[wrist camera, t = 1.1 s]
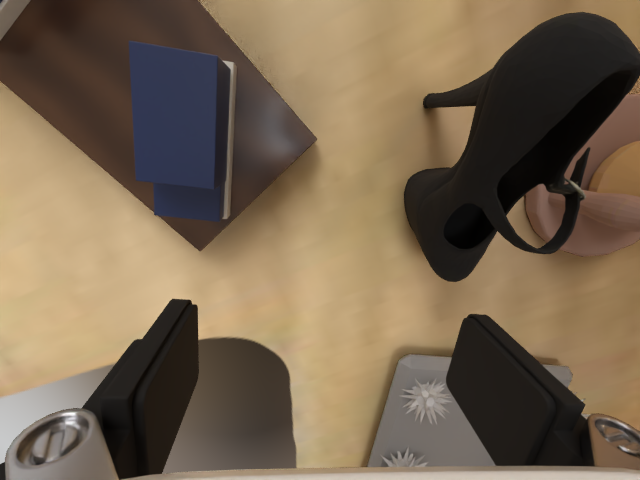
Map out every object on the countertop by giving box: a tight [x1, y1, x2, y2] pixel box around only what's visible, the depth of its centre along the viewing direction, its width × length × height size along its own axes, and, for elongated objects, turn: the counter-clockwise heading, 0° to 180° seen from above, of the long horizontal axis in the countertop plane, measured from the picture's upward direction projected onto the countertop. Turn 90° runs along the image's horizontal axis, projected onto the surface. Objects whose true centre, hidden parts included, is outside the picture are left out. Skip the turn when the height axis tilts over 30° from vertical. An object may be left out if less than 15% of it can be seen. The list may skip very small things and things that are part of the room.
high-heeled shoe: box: [404, 12, 640, 282], centre depth 24 cm, size 8×19×20 cm, turn 8°
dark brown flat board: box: [0, 0, 317, 251], centre depth 26 cm, size 16×30×3 cm, turn 42°
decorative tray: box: [367, 354, 590, 467], centre depth 43 cm, size 35×26×10 cm
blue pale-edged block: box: [129, 41, 237, 222], centre depth 25 cm, size 13×6×6 cm, turn 172°
